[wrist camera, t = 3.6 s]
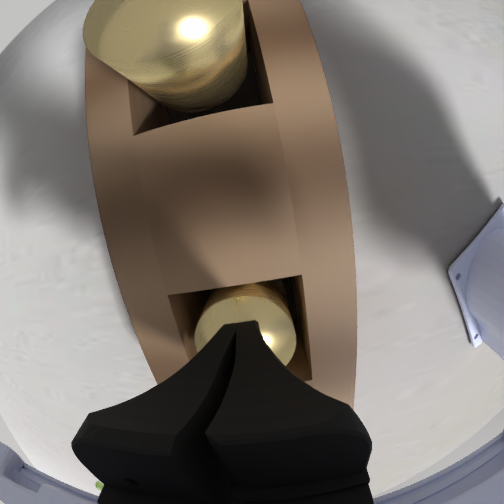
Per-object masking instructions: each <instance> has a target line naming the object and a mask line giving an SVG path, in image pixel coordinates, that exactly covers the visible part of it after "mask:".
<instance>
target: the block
mask: <svg viewBox="0 0 504 504" xmlns="http://www.w3.org/2000/svg"><path fill="white" fill-rule="evenodd" d="M242 4H243V15H244V26H245V37H246V49H247V51H248V50H251V54H252V58H253V62H254V67H255V71H256V76H257V81H258V85H259V90H260V95H261V99H262V104H263V105H257V106H251V107H245V108H239V109H234V110H228V111H223V112H219V113H214V114H209V115H205V116H201V117H197V118H193V119H189V120H185V121H181V122H177V123H174V124H170V125H169V118H168V111H167V107H165V106H164V105H162V104H161V103H159V102H158V101H157V100H156V99H154V98H153V97H152V96H150V95H149V94H148V93H146V92H145V91H144V90H142V89H141V88H139V87H138V86H137V85H135V84H134V83H133V82H131V81H130V80H128V79H127V78H126V77H124V76H123V75H121V74H120V73H119V72H117V71H116V70H114V69H113V68H112V67H110V66H109V65H107V64H106V63H104V62H103V61H101V60H100V59H98V58H97V57H95V56H94V55H93V54H92V53H91V52H90V51H89V50H88V49H87V47H86V59H85V99H86V119H87V132H88V142H89V151H90V159H91V167H92V174H93V180H94V186H95V192H96V197H97V203H98V208H99V212H100V217H101V222H102V226H103V230H104V235H105V239H106V243H107V247H108V251H109V254H110V258H111V262H112V265H113V269H114V272H115V275H116V279H117V282H118V285H119V288H120V291H121V294H122V297H123V300H124V303H125V306H126V309H127V312H128V315H129V317H130V320H131V323H132V325H133V328H134V331H135V333H136V336H137V338H138V341H139V343H140V346H141V348H142V350H143V353H144V355H145V357H146V360H147V362H148V364H149V367H150V369H151V371H152V373H153V375H154V377H155V380H156V382H157V384H160V383H161V382H163V381H165V380H166V379H168V378H169V377H170V376H172V375H173V374H174V373H176V372H177V371H178V370H180V369H181V368H182V367H183V366H184V365H186V364H187V363H188V362H189V361H190V360H191V359H192V358H193V357H194V356H195V355H196V354H197V353H198V352H197V349H196V346H195V331H196V327H197V325H198V322H199V320H200V317H201V315H202V312H203V310H204V307H205V305H206V300H205V296H204V293H203V290H209V289H215V288H222V287H229V286H235V285H242V284H248V283H255V282H261V281H267V280H273V279H279V278H285V277H291V276H292V281H293V289H294V296H295V304H296V312H297V320H298V325H297V326H294V329H295V334H296V348H295V351H294V354H293V356H292V358H291V360H290V361H289V363H288V364H287V365H286V367H287V368H288V369H289V370H290V371H291V372H292V373H294V374H295V375H296V376H297V377H298V378H300V379H301V380H303V381H304V382H306V383H307V384H308V385H310V386H311V387H313V388H314V389H316V390H318V391H320V392H321V393H323V394H325V395H327V396H330V397H332V398H334V399H337V400H339V401H342V402H344V403H347V404H349V405H350V407H351V408H352V409H353V406H354V394H355V379H356V357H357V292H356V270H355V254H354V241H353V230H352V220H351V211H350V203H349V195H348V188H347V181H346V174H345V168H344V162H343V156H342V150H341V145H340V139H339V134H338V129H337V124H336V120H335V115H334V111H333V106H332V102H331V98H330V94H329V90H328V86H327V82H326V78H325V75H324V71H323V67H322V64H321V60H320V57H319V54H318V50H317V47H316V44H315V41H314V38H313V35H312V32H311V29H310V26H309V23H308V20H307V17H306V15H305V12H304V9H303V7H302V4H301V1H300V0H242Z"/></svg>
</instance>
